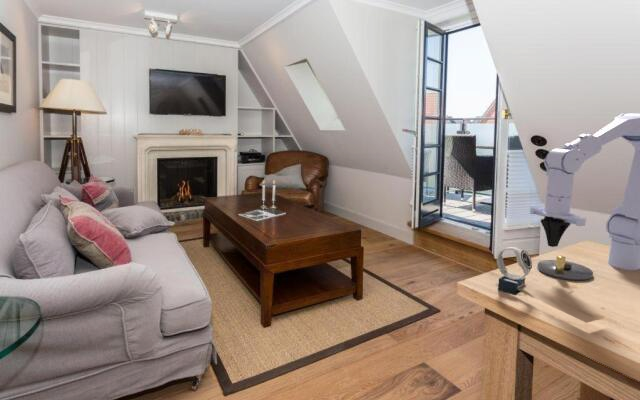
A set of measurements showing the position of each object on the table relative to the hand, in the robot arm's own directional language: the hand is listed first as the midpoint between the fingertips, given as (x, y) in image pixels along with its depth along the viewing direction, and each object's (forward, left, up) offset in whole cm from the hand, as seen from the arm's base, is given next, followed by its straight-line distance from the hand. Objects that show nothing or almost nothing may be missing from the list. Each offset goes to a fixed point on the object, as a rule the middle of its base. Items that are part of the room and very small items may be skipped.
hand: (552, 245), depth 108 cm
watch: (+15, +1, -10) cm, 18 cm away
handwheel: (-5, 0, -8) cm, 9 cm away
